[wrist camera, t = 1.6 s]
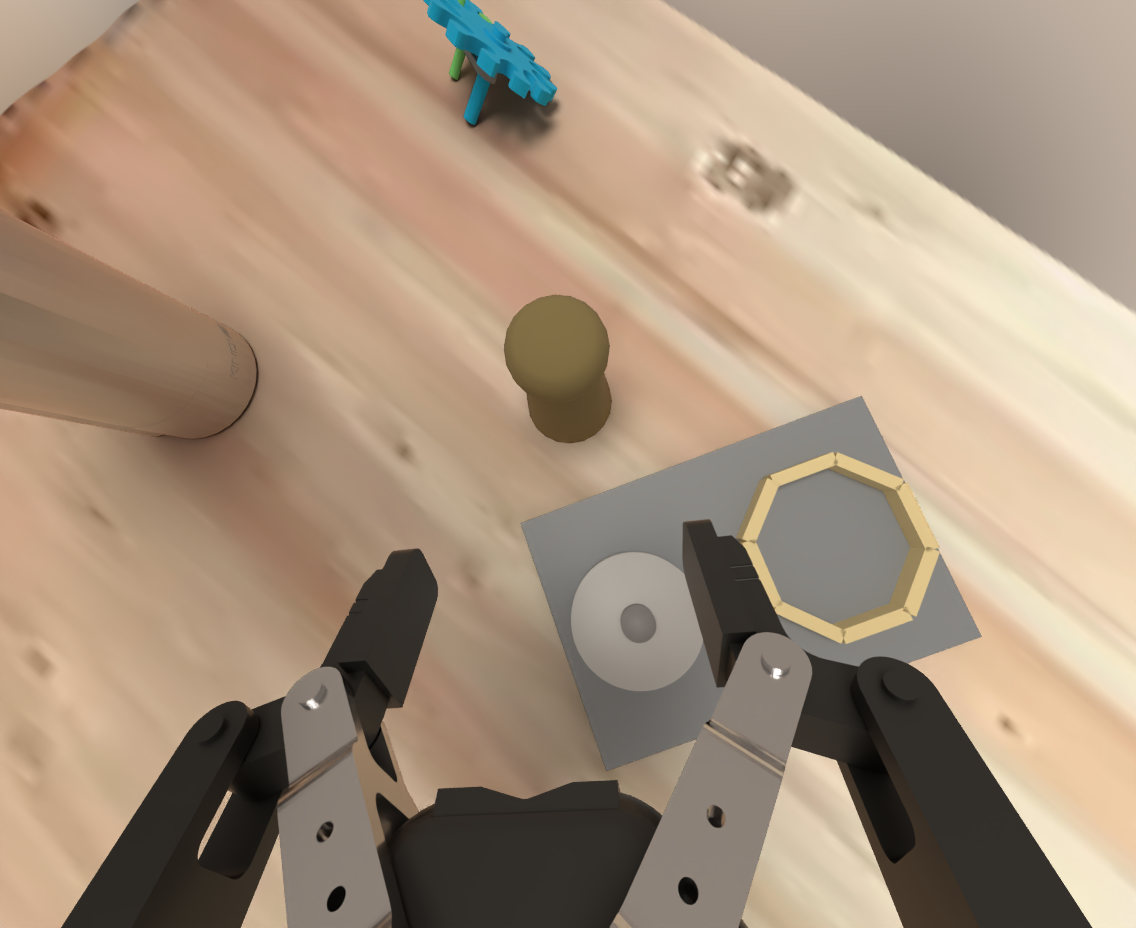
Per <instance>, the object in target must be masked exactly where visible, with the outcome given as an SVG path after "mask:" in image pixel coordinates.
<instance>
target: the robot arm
mask: <svg viewBox="0 0 1136 928" xmlns="http://www.w3.org/2000/svg"><path fill="white" fill-rule="evenodd" d="M256 372H257V370H256V363H255V358H254V355H253V353H252V350H251V348H250V346H249V345H248V343H247V342H246V341H245V339H244V338H243V337H242V336H240V335H239V334H238V333H237V332H236V331H234V330H232V329H230V328H228V327H226V326H224V325H222V324H220V323H218V322H217V321H215V320H213V319H211V318H209V317H207V316H205V315H203V314H201V313H199V312H197V311H195V310H194V309H192V308H190V307H188V306H186V305H184V304H182V303H181V302H179V301H177V300H175V299H173V298H171V297H169V296H167V295H165V294H163V293H161V292H159V291H157V290H155V289H153V288H152V287H150V286H148V285H146V284H144V283H142V282H140V281H138V280H136V279H134V278H132V277H130V276H128V275H126V274H124V273H122V272H121V271H119V270H117V269H115V268H113V267H111V266H109V265H107V264H105V263H103V262H101V261H99V260H97V259H95V258H93V257H91V256H90V255H88V254H86V253H84V252H82V251H80V250H78V249H76V248H74V247H72V246H70V245H68V244H66V243H64V242H62V241H60V240H58V239H57V238H55V237H53V236H51V235H49V234H47V233H45V232H43V231H41V230H39V229H37V228H35V227H33V226H31V225H29V224H27V223H26V222H24V221H22V220H20V219H18V218H16V217H14V216H12V215H10V214H8V213H6V212H4V211H2V210H0V409H5V410H11V411H16V412H22V413H27V414H33V415H38V416H44V417H49V418H55V419H60V420H65V421H71V422H76V423H82V424H87V425H93V426H98V427H104V428H109V429H115V430H120V431H126V432H131V433H137V434H142V435H148V436H153V437H157V436H160V435H163V434H165V435H170V436H176V437H181V438H192V439H196V438H202V437H208V436H210V435H213V434H216V433H218V432H220V431H222V430H223V429H225V428H226V427H228V426H230V425H231V424H232V423H233V422H234V421H235V420H236V419H237V418H238V417H239V416H240V415H241V413H242V412H243V411H244V409H245V408H246V407H247V405H248V403H249V401H250V399H251V397H252V395H253V391H254V387H255V384H256ZM682 560H683V569H684V574H685V578H686V582H687V585H688V589H689V592H690V596H691V599H692V603H693V606H694V610H695V613H696V617H697V620H698V624H699V627H700V631H701V634H702V638H703V641H704V645H705V648H706V652H707V656H708V659H709V663H710V666H711V670H712V673H713V677H714V680H715V684H716V687H717V688H721V687H725V688H724V690H723V693H722V695H721V697H720V699H719V702H718V704H717V706H716V709H715V711H714V713H713V715H712V717H711V719H710V720H709V721H707V722H706V723H705V725H704V726H703V728H702V730H701V732H700V734H699V736H698V738H697V740H696V742H695V745H694V747H693V749H692V751H691V754H690V756H689V758H688V760H687V763H686V765H685V767H684V769H683V771H682V774H681V776H680V778H679V780H678V783H677V785H676V787H675V789H674V791H673V794H672V796H671V798H670V800H669V803H668V805H667V807H666V809H665V812H664V814H663V816H662V815H661V814H660V813H658V812H657V811H656V810H655V809H654V808H652V807H651V806H649V805H648V804H646V803H644V802H643V801H641V800H639V799H637V798H635V797H632V796H630V795H627V794H623V793H620V789H619V784H618V780H610V781H589V782H572V783H569V784H566V785H564V786H561V787H558V788H556V789H553V790H550V791H548V792H545V793H542V794H540V795H537V796H534V797H532V798H529V799H520V798H517V797H513V796H510V795H507V794H503V793H500V792H497V791H493V790H490V789H487V788H484V787H465V788H444V789H438V792H437V797H436V801H435V804H433V805H431V806H429V807H427V808H425V809H423V810H421V811H420V812H419V811H418V809H417V807H416V805H415V803H414V801H413V799H412V798H411V796H410V794H409V793H408V791H407V788H406V786H405V784H404V781H403V778H402V775H401V772H400V769H399V766H398V763H397V760H396V757H395V754H394V751H393V748H392V745H391V742H390V738H389V735H388V732H387V729H386V726H385V724H384V722H383V721H382V720H383V717H384V714H385V711H386V709H387V708H401V707H403V704H404V700H405V697H406V694H407V691H408V688H409V685H410V682H411V679H412V676H413V673H414V669H415V666H416V663H417V660H418V657H419V654H420V651H421V648H422V645H423V641H424V638H425V635H426V632H427V629H428V626H429V623H430V620H431V617H432V614H433V610H434V607H435V604H436V601H437V596H438V586H437V582H436V579H435V577H434V575H433V573H432V571H431V569H430V567H429V565H428V563H427V561H426V559H425V557H424V555H423V553H422V551H421V550H420V549H408V550H399V551H393V552H392V553H391V554H390V555H389V557H388V559H387V561H386V564H385V566H384V568H383V569H381V570H376V571H375V573H374V574H373V575H372V576H371V577H370V578H369V579H368V580H367V581H366V582H365V583H364V584H363V586H362V588H361V590H360V592H359V594H358V596H357V598H356V603H354V604H353V606H352V608H351V610H350V611H349V616H347V617H346V619H345V621H344V623H343V625H342V627H341V629H340V631H339V633H338V635H337V637H336V639H335V641H334V642H333V644H332V646H331V648H330V650H329V652H328V654H327V656H326V658H325V660H324V662H323V664H322V665H321V667H320V668H318V669H315V670H313V671H311V672H309V673H308V674H306V675H305V676H303V677H302V678H301V679H300V680H298V681H297V682H296V683H295V684H294V686H293V687H292V688H291V689H290V690H289V692H288V693H287V695H286V696H285V697H282V698H280V699H277V700H275V701H272V702H270V703H267V704H264V705H262V706H259V707H257V708H254V709H252V710H251V709H250V708H249V707H247V706H246V705H245V704H244V703H242V702H240V701H230V702H226V703H224V704H221V705H219V706H217V707H215V708H214V709H212V710H210V711H209V712H208V713H206V714H205V715H204V716H203V717H202V718H200V719H199V720H198V721H197V722H196V723H195V724H194V725H193V727H192V728H191V729H190V730H189V732H188V733H187V734H186V736H185V737H184V739H183V740H182V742H181V743H180V745H179V747H178V748H177V750H176V751H175V753H174V754H173V756H172V757H171V759H170V760H169V762H168V764H167V765H166V767H165V768H164V770H163V771H162V773H161V774H160V776H159V777H158V779H157V781H156V782H155V784H154V785H153V787H152V788H151V790H150V791H149V793H148V794H147V796H146V797H145V799H144V801H143V802H142V804H141V805H140V807H139V808H138V810H137V811H136V813H135V814H134V816H133V818H132V819H131V821H130V822H129V824H128V825H127V827H126V828H125V830H124V831H123V833H122V834H121V836H120V838H119V839H118V841H117V842H116V844H115V845H114V847H113V848H112V850H111V851H110V853H109V855H108V856H107V858H106V859H105V861H104V862H103V864H102V865H101V867H100V868H99V870H98V872H97V873H96V875H95V876H94V878H93V879H92V881H91V882H90V884H89V885H88V887H87V888H86V890H85V892H84V893H83V895H82V896H81V898H80V899H79V901H78V902H77V904H76V905H75V907H74V909H73V910H72V912H71V913H70V915H69V916H68V918H67V919H66V921H65V922H64V924H63V926H62V927H61V928H241V925H242V923H243V920H244V918H245V916H246V913H247V911H248V908H249V906H250V903H251V901H252V898H253V896H254V893H255V891H256V888H257V886H258V884H259V881H260V879H261V876H262V874H263V871H264V869H265V866H266V864H267V861H268V859H269V856H270V854H271V852H272V849H273V847H274V844H275V842H276V839H277V837H278V834H279V837H280V848H281V859H282V870H283V881H284V892H285V903H286V914H287V925H288V928H748V927H747V926H746V924H745V923H744V922H743V920H742V919H741V917H742V914H743V910H744V907H745V904H746V900H747V897H748V893H749V890H750V887H751V883H752V880H753V877H754V873H755V870H756V866H757V863H758V860H759V856H760V853H761V850H762V846H763V843H764V839H765V836H766V833H767V829H768V826H769V822H770V819H771V816H772V812H773V809H774V806H775V802H776V799H777V795H778V792H779V789H780V785H781V782H782V778H783V774H784V770H785V765H786V762H787V758H788V755H789V752H790V748H791V747H794V748H797V749H801V750H804V751H807V752H811V753H814V754H817V755H821V756H824V757H828V758H831V759H834V760H837V762H838V765H839V767H840V770H841V772H842V775H843V777H844V780H845V782H846V785H847V787H848V790H849V792H850V795H851V797H852V800H853V802H854V805H855V807H856V810H857V812H858V815H859V817H860V820H861V822H862V825H863V827H864V830H865V832H866V835H867V837H868V840H869V842H870V845H871V847H872V850H873V852H874V855H875V857H876V860H877V862H878V865H879V867H880V870H881V872H882V875H883V877H884V880H885V882H886V885H887V887H888V890H889V892H890V895H891V897H892V900H893V902H894V905H895V907H896V910H897V912H898V915H899V917H900V920H901V922H902V925H903V927H904V928H1092V927H1091V925H1090V923H1089V922H1088V920H1087V919H1086V917H1085V916H1084V914H1083V913H1082V911H1081V910H1080V908H1079V907H1078V905H1077V903H1076V902H1075V900H1074V899H1073V897H1072V896H1071V894H1070V893H1069V891H1068V890H1067V888H1066V887H1065V885H1064V884H1063V882H1062V880H1061V879H1060V877H1059V876H1058V874H1057V873H1056V871H1055V870H1054V868H1053V867H1052V865H1051V864H1050V862H1049V860H1048V859H1047V857H1046V856H1045V854H1044V853H1043V851H1042V850H1041V848H1040V847H1039V845H1038V844H1037V842H1036V840H1035V839H1034V837H1033V836H1032V834H1031V833H1030V831H1029V830H1028V828H1027V827H1026V825H1025V824H1024V822H1023V821H1022V819H1021V817H1020V816H1019V814H1018V813H1017V811H1016V810H1015V808H1014V807H1013V805H1012V804H1011V802H1010V801H1009V799H1008V797H1007V796H1006V794H1005V793H1004V791H1003V790H1002V788H1001V787H1000V785H999V784H998V782H997V781H996V779H995V777H994V776H993V774H992V773H991V771H990V770H989V768H988V767H987V765H986V764H985V762H984V761H983V759H982V758H981V756H980V754H979V753H978V751H977V750H976V748H975V747H974V745H973V744H972V742H971V741H970V739H969V738H968V736H967V734H966V733H965V731H964V730H963V728H962V727H961V725H960V724H959V722H958V721H957V719H956V718H955V716H954V714H953V713H952V711H951V710H950V708H949V707H948V705H947V704H946V702H945V701H944V699H943V698H942V696H941V695H940V693H939V691H938V690H937V688H936V687H935V686H934V684H933V683H932V682H931V681H930V680H929V679H928V678H927V677H926V676H925V675H924V674H923V673H921V672H920V671H919V670H917V669H916V668H914V667H913V666H911V665H909V664H907V663H905V662H903V661H900V660H897V659H894V658H890V657H882V656H878V657H871V658H868V659H866V660H865V661H863V662H862V663H861V664H860V666H854V665H850V664H845V663H841V662H836V661H832V660H827V659H823V658H820V657H817V656H815V655H812V654H810V653H808V652H807V651H805V650H803V649H802V648H801V647H800V646H799V645H798V644H796V643H795V642H794V641H792V640H791V639H790V638H789V636H788V635H787V634H786V632H785V630H784V629H783V627H782V624H781V622H780V620H779V618H778V616H777V614H776V612H775V610H774V607H773V605H772V603H771V601H770V599H769V597H768V595H767V593H766V591H765V588H764V586H763V584H762V582H761V580H759V576H758V574H757V571H756V569H755V567H753V563H752V561H751V559H750V557H749V555H748V552H747V550H746V548H745V547H744V546H743V545H742V544H740V543H739V542H738V541H737V540H736V539H735V538H734V537H733V536H732V535H729V536H719V537H718V536H717V534H716V531H715V529H714V527H713V524H712V522H711V520H710V519H704V520H695V521H685V522H683V538H682ZM228 790H229V791H230V792H232V795H231V797H230V799H229V801H228V803H227V805H226V807H225V809H224V811H223V813H222V815H221V817H220V819H219V821H218V823H217V824H216V826H215V828H214V830H213V832H212V834H211V836H210V838H209V840H208V842H207V844H206V846H205V848H204V850H203V852H202V854H201V856H200V858H199V860H198V850H199V846H200V843H201V841H202V839H203V837H204V835H205V833H206V831H207V829H208V827H209V825H210V823H211V821H212V819H213V817H214V816H215V814H216V812H217V810H218V808H219V806H220V804H221V802H222V800H223V798H224V796H225V794H226V792H227V791H228Z"/></svg>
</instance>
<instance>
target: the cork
mask: <svg viewBox="0 0 1136 928" xmlns="http://www.w3.org/2000/svg"><path fill="white" fill-rule="evenodd" d="M609 347H610V345H609V340H608V335H607V330H606V328H605V326H604V325H603V323H602V321H601V319H600V318H599V316H598V314H597V313H596V312H595V311H594V310H593V309H592V308H591V307H590V306H588V305H587V304H586V303H585V302H583V301H580V300H578V299H576V298H573V297H571V296H562V295H551V296H546V297H541V298H538V299H536V300H534V301H532V302H531V303H529V304H527V305H525V306H524V307H523V308H522V309H521V310H520V311H519V312H518V313H517V314H516V315H515V316H514V318H513V319H512V321H511V323H510V325H509V327H508V329H507V332H506V338H505V344H504V353H505V359H506V365H507V367H508V369H509V371H510V373H511V375H512V377H513V379H514V380H515V382H516V383H517V384H518V385H519V386H520V387H521V388H522V389H523V390H524V391H525V392H526V393H527V400H528V407H529V413H530V417H531V419H532V421H533V422H534V424H535V426H536V428H537V429H538V430H540V431H541V432H542V433H543V434H544V435H545V436H546V437H549V438H551V439H553V440H555V441H557V442H565V443H574V442H580V441H584V440H586V439H588V438H589V437H591V436H593V435H595V434H596V433H597V432H598V431H599V430H600V429H601V428H602V427H603V426H604V424H605V422H606V420H607V418H608V416H609V414H610V409H611V402H612V400H611V395H610V389H609V386H608V383H607V380H606V377H605V374H604V371H605V369H606V367H607V362H608V355H609Z"/></svg>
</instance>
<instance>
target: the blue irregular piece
mask: <svg viewBox="0 0 1136 928" xmlns="http://www.w3.org/2000/svg"><path fill="white" fill-rule="evenodd" d="M423 1H424V2H425V3H426V4H427V5H428V6H429V7H428V11H427V14H428V16H429V18H431V19H432V20H433V21H435V22H436V23H438V24H439V25H441V26H443V27H445V28H446V29H447V30H446V34H445V35H446V37H447V38H448V39H449V40H450V42H451V43H452V44H453V45H454V46H455V47H457V48H456V51H455V55H454V58H453V62H452V65H451V68H450V72H449V74H450V76H451V77H453V78H454V79H456V80H458V77H459V74H460V71H461V67H462V64H463V61H464V58H465V54H466V56H467V57H468V59H469V61H470V62H471V64H472V66H473V67H474V69H475V70H476V72H477V73H478V74H477V77H476V80H475V83H474V86H473V89H472V92H471V95H470V98H469V101H468V104H467V107H466V110H465V113H464V118H465V119H466V120H467V121H468V122H469V123H471V124H473V125H476V122H477V119H478V117H479V114H480V111H481V108H482V105H483V103H484V100H485V97H486V94H487V91H488V89H489V86H490V83H491V84H495V82H496V80H497V77H498V74H499V73H501V74H503V75H505V76H507V77H508V78H509V79H510V82H509V84H508V86H509V88H510V89H511V90H513V91H514V92H515V93H517V94H518V95H520V96H521V97H523V98H525V97H526V95H527V92H528V90H530V92H531V97H532V98H533V99H534V100H535V101H536V102H537V103H539V104H541V105H544V106H546V105H547V103H548V101H549V102H551V101H552V99H553V97H554V95H555V93H556V91H557V87H556V86H555V85H554V84H552V83H551V82H550V81H549V80H550V78H551V76H550V74H549V72H548V71H547V70H546V69H544V68H543V67H541V66H540V65H538V64H536V63H535V62H533V61H534V59H535V57H534V56H533V54H532V53H531V52H530V51H529V50H528V49H527V48H526V47H525V46H523V45H519V44H517V43H515V42H513V41H512V40H510V39H509V37H510V33H509V32H508V31H507V30H506V29H505V28H504V27H503V26H502V25H501V24H500V23H499V22H497V21H495V23H494V24H492V22H491V21H490V20H489V19H488V18H487V17H486V16H485V15H484V14H483V12H482V11H481V9H479V8H478V7H477V6H476V5H474V4H473V3H472V2H470V0H423Z"/></svg>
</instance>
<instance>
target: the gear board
mask: <svg viewBox="0 0 1136 928" xmlns="http://www.w3.org/2000/svg"><path fill="white" fill-rule="evenodd" d="M704 519H710V520H711V522H712V524H713V527H714V529H715V531H716V534H717V536H718V537H719V536H729V535H732V536H733V537H734V538H735V539H736V540H737V541H738V542H739V543H740V544H742V545H743V546H744V547H745V548H746V550H747V552H748V555H749V557H750V559H751V561H752V563H753V567H755V569H756V571H757V574H758V576H759V580H761V582H762V584H763V586H764V588H765V591H766V593H767V595H768V597H769V599H770V601H771V603H772V605H773V607H774V610H775V612H776V614H777V616H778V618H779V620H780V622H781V624H782V627H783V629H784V630H785V632H786V634H787V635H788V636H789V638H790V639H791V640H792V641H794V642H795V643H796V644H798V645H799V646H800V647H801V648H802V649H803V650H805V651H807V652H808V653H810V654H812V655H815V656H817V657H820V658H823V659H827V660H832V661H836V662H841V663H845V664H850V665H854V666H860V664H861V663H862V662H863V661H865V660H866V659H868V658H871V657H878V656H882V657H890V658H894V659H897V660H900V661H903V662H905V663H910V662H912V661H915V660H918V659H921V658H924V657H926V656H929V655H932V654H935V653H938V652H940V651H943V650H946V649H949V648H952V647H954V646H957V645H960V644H963V643H965V642H968V641H971V640H974V639H977V638H979V637H982V636H981V634H980V632H979V630H978V628H977V626H976V624H975V622H974V620H973V618H972V616H971V614H970V612H969V610H968V608H967V606H966V604H965V602H964V600H963V598H962V596H961V594H960V592H959V590H958V588H957V586H956V584H955V582H954V580H953V578H952V576H951V574H950V572H949V570H948V568H947V566H946V564H945V562H944V560H943V558H942V556H941V554H940V552H939V550H938V548H939V545H938V543H937V541H936V539H935V537H934V535H933V533H932V531H931V529H930V527H929V525H928V523H927V521H926V519H925V517H924V515H923V513H922V511H921V509H920V507H919V505H918V503H917V501H916V499H915V497H914V495H913V493H912V491H911V489H910V487H909V485H908V483H905V482H904V479H903V478H902V476H901V474H900V472H899V470H898V468H897V466H896V464H895V462H894V460H893V458H892V456H891V454H890V452H889V450H888V448H887V446H886V444H885V442H884V440H883V438H882V436H881V434H880V432H879V430H878V428H877V426H876V424H875V422H874V420H873V417H872V415H871V413H870V411H869V409H868V407H867V405H866V403H865V401H864V399H863V397H862V396H860V397H857V398H854V399H852V400H849V401H846V402H844V403H841V404H838V405H836V406H833V407H830V408H828V409H825V410H822V411H820V412H817V413H814V414H812V415H809V416H806V417H804V418H801V419H798V420H796V421H793V422H790V423H788V424H785V425H782V426H780V427H777V428H774V429H772V430H769V431H766V432H763V433H761V434H758V435H755V436H753V437H750V438H747V439H745V440H742V441H739V442H737V443H734V444H731V445H729V446H726V447H723V448H721V449H718V450H715V451H713V452H710V453H707V454H705V455H702V456H699V457H697V458H694V459H691V460H689V461H686V462H683V463H681V464H678V465H675V466H673V467H670V468H667V469H665V470H662V471H659V472H657V473H654V474H651V475H648V476H646V477H643V478H640V479H638V480H635V481H632V482H630V483H627V484H624V485H622V486H619V487H616V488H614V489H611V490H608V491H606V492H603V493H600V494H598V495H595V496H592V497H590V498H587V499H584V500H582V501H579V502H576V503H574V504H571V505H568V506H566V507H563V508H560V509H558V510H555V511H552V512H550V513H547V514H544V515H542V516H539V517H536V518H533V519H531V520H528V521H525V522H523V523H521V526H522V529H523V532H524V535H525V538H526V541H527V543H528V546H529V549H530V552H531V555H532V558H533V561H534V564H535V566H536V569H537V572H538V575H539V578H540V581H541V584H542V587H543V590H544V592H545V595H546V598H547V601H548V604H549V607H550V610H551V613H552V616H553V618H554V621H555V624H556V627H557V630H558V633H559V636H560V639H561V642H562V644H563V647H564V650H565V653H566V656H567V659H568V662H569V665H570V667H571V670H572V673H573V676H574V679H575V682H576V685H577V688H578V691H579V693H580V696H581V699H582V702H583V705H584V708H585V711H586V714H587V717H588V719H589V722H590V725H591V728H592V731H593V734H594V737H595V740H596V743H597V745H598V748H599V751H600V754H601V757H602V760H603V763H604V766H605V769H606V771H608V770H611V769H614V768H617V767H619V766H622V765H625V764H628V763H631V762H633V761H636V760H639V759H642V758H645V757H647V756H650V755H653V754H656V753H658V752H661V751H664V750H667V749H670V748H672V747H675V746H678V745H681V744H684V743H686V742H689V741H692V740H695V739H697V738H698V736H699V734H700V732H701V730H702V728H703V726H704V725H705V723H706V722H707V721H709V720H710V719H711V717H712V715H713V713H714V711H715V709H716V706H717V704H718V702H719V699H720V697H721V695H722V693H723V690H724V688H725V687H721V688H717V687H716V684H715V680H714V677H713V673H712V670H711V666H710V663H709V659H708V656H707V652H706V648H705V645H704V641H703V638H702V634H701V631H700V627H699V624H698V620H697V617H696V613H695V610H694V606H693V603H692V599H691V596H690V592H689V589H688V585H687V582H686V578H685V574H684V569H683V560H682V538H683V522H685V521H695V520H704Z"/></svg>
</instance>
